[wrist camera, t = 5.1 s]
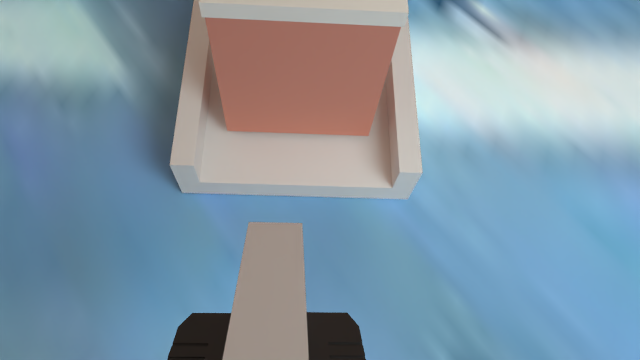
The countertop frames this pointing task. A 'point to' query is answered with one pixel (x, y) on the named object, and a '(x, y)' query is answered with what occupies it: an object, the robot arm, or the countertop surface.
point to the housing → (294, 140)
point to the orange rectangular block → (302, 62)
